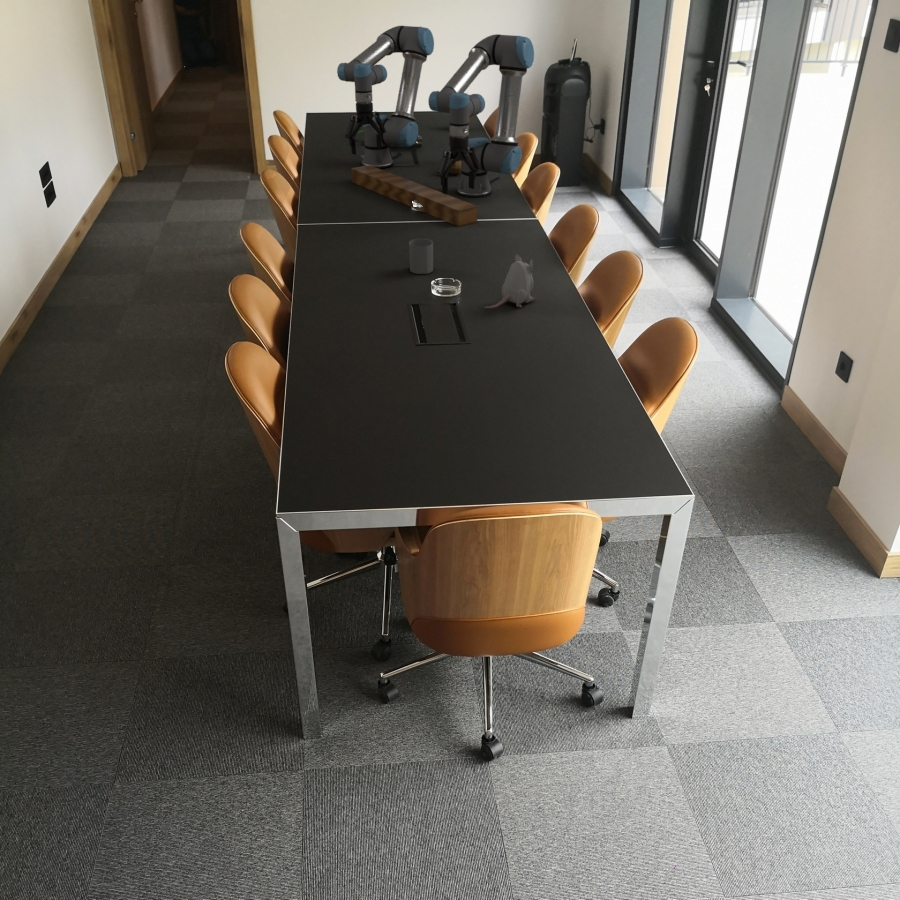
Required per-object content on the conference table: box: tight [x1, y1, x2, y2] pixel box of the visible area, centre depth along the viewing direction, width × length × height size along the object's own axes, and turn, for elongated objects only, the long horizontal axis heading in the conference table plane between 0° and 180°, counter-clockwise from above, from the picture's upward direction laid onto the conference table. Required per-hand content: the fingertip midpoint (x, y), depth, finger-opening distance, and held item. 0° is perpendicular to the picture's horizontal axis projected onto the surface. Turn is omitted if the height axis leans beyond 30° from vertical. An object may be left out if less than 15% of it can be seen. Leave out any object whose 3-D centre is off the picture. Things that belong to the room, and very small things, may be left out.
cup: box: [408, 237, 434, 275], centre depth 305 cm, size 8×8×10 cm
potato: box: [448, 159, 461, 175], centre depth 412 cm, size 10×14×8 cm
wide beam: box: [350, 165, 478, 227], centre depth 376 cm, size 80×10×6 cm, turn 38°
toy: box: [483, 253, 535, 309], centre depth 276 cm, size 9×24×15 cm, turn 137°
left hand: (366, 151), depth 393 cm, fingers open, 13 cm apart
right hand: (458, 191), depth 349 cm, fingers open, 13 cm apart
